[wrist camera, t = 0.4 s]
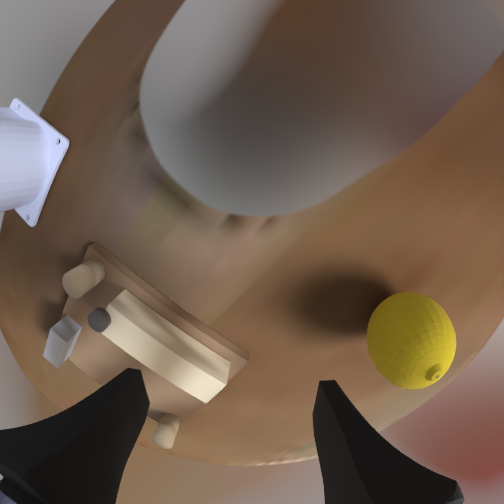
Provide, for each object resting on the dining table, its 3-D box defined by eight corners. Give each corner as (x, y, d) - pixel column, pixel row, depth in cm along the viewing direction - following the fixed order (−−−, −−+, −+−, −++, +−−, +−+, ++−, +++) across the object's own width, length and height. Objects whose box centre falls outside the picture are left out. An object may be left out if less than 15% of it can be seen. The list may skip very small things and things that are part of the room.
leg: (105, 306, 19) (82, 328, 16) (117, 282, 18) (93, 302, 15) (212, 381, 20) (204, 411, 17) (230, 362, 19) (224, 393, 16)
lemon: (359, 351, 20) (392, 426, 12) (347, 290, 19) (388, 359, 11) (421, 326, 19) (471, 387, 12) (416, 264, 18) (481, 314, 10)
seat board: (57, 339, 22) (35, 361, 18) (96, 241, 19) (64, 257, 15) (175, 423, 23) (165, 453, 20) (249, 353, 20) (245, 389, 17)
